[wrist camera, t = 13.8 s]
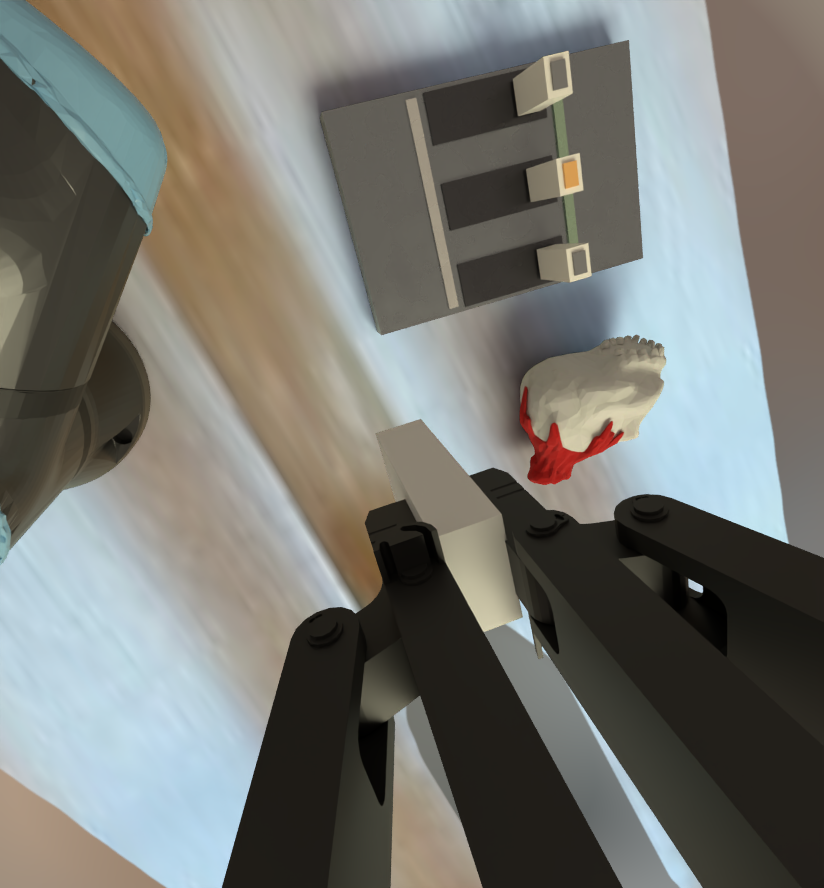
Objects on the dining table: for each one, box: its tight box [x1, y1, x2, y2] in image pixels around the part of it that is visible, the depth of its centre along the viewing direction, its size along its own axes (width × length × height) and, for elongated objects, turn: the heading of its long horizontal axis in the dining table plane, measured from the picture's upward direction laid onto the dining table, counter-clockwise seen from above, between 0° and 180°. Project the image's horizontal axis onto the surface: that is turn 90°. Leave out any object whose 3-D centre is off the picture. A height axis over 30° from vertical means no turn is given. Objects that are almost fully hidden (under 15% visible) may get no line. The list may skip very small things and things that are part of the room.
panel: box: [320, 40, 643, 335], centre depth 42 cm, size 24×16×2 cm, turn 103°
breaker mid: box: [526, 153, 583, 202], centre depth 39 cm, size 2×2×5 cm
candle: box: [520, 335, 666, 485], centre depth 47 cm, size 9×11×15 cm
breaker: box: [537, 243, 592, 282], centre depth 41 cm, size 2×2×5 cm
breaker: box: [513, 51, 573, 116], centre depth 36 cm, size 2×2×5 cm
